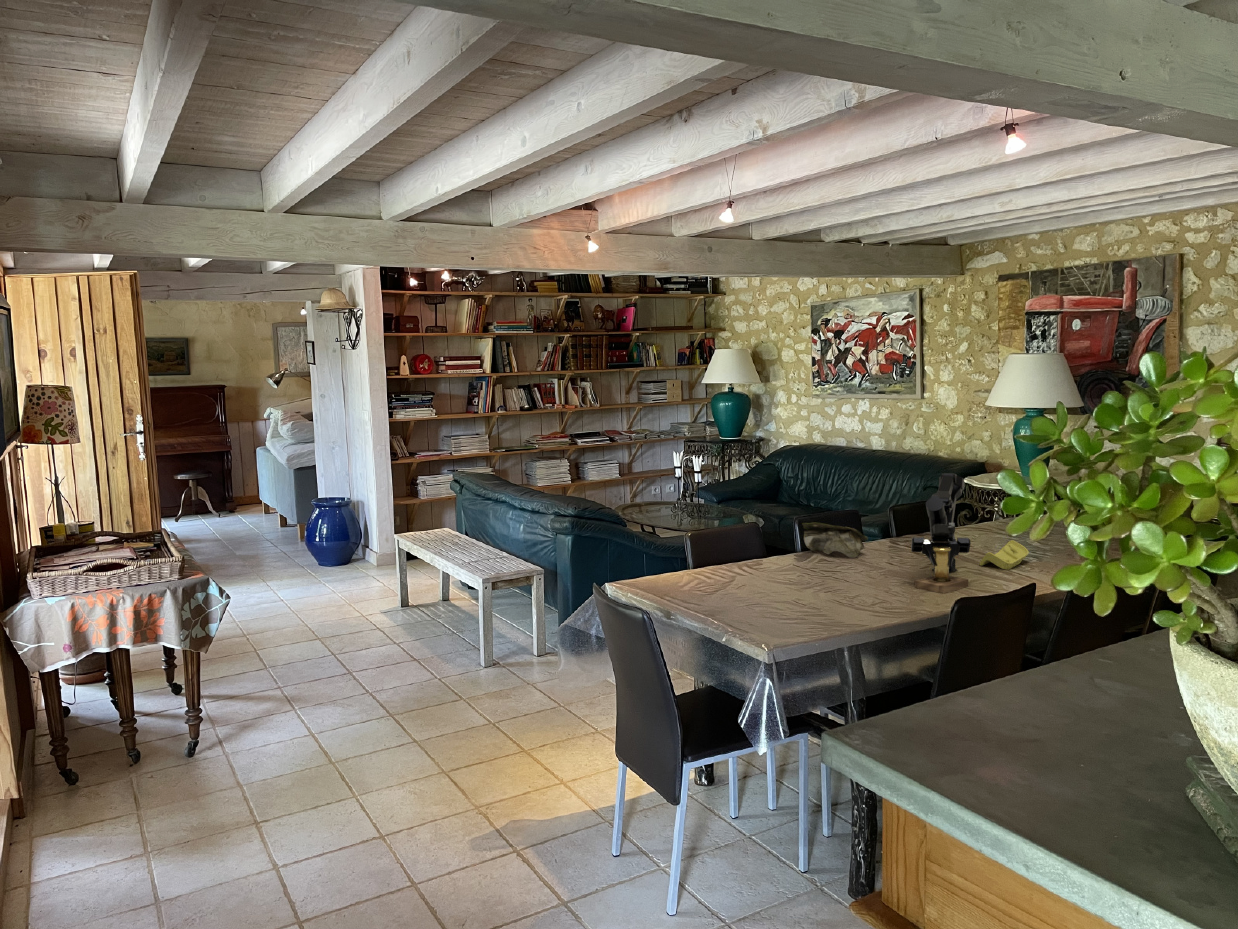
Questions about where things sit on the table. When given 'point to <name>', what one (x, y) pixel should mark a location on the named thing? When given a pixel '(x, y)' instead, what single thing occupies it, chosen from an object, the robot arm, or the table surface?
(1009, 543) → the plastic component
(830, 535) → the hollow geode rock
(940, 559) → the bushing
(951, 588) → the jig
